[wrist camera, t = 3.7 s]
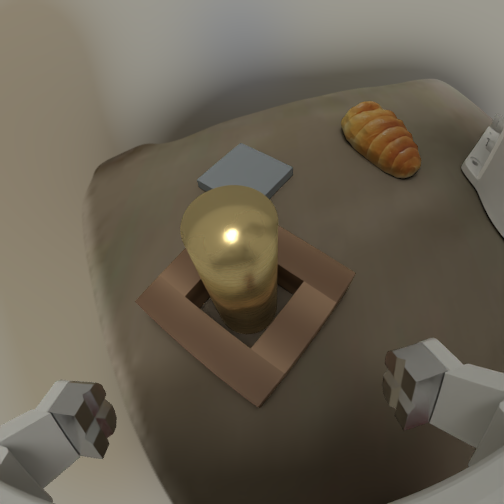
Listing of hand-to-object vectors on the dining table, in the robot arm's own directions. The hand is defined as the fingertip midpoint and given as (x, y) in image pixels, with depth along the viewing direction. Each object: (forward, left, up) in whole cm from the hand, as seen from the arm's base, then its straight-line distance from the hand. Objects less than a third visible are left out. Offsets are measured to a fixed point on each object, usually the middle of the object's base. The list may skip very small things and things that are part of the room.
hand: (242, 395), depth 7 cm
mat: (-14, -12, -12) cm, 22 cm away
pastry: (-27, -5, -12) cm, 30 cm away
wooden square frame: (-5, -5, -12) cm, 13 cm away
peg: (-5, -5, -12) cm, 13 cm away
